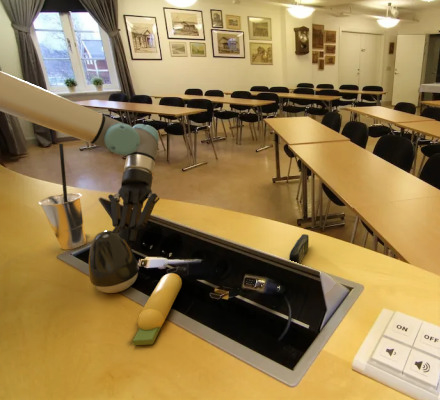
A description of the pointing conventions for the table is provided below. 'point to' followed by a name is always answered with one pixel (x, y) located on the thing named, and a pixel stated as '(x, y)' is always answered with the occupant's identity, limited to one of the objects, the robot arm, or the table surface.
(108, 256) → the dark brown egg shape
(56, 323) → the table surface
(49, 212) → the silver cup with straw
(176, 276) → the corn cob
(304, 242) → the mobile phone
